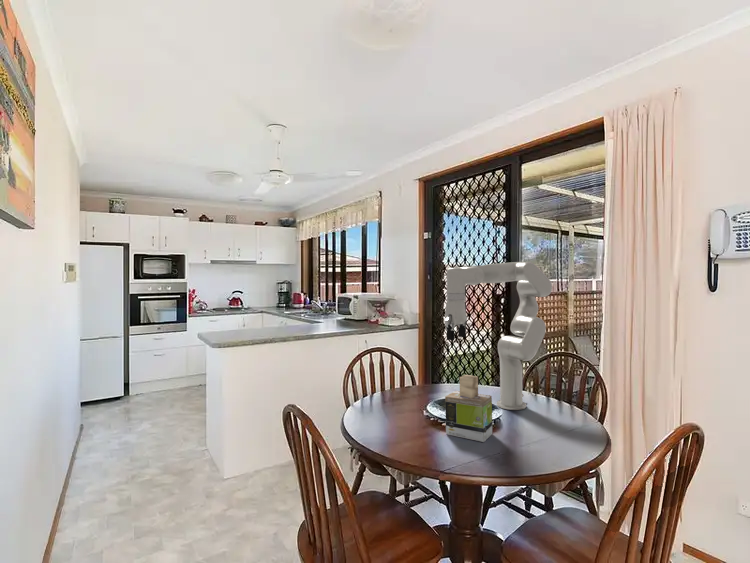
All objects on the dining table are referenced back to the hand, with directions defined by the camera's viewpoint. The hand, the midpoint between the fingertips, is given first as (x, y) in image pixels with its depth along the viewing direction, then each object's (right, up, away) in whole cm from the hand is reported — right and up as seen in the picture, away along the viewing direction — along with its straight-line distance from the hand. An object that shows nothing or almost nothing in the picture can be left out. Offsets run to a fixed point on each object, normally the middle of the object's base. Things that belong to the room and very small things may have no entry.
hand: (456, 338), depth 176 cm
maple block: (+1, -19, -17) cm, 26 cm away
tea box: (+1, -34, -17) cm, 38 cm away
